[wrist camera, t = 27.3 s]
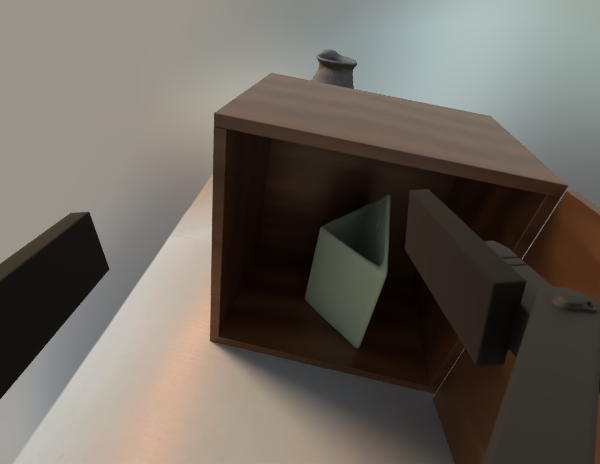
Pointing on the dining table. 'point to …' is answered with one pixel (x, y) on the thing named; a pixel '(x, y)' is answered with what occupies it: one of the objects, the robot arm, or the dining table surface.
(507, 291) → the robot arm
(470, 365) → the cupboard door
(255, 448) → the dining table surface
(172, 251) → the dining table surface
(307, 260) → the cupboard
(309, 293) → the planter
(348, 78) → the pitcher
